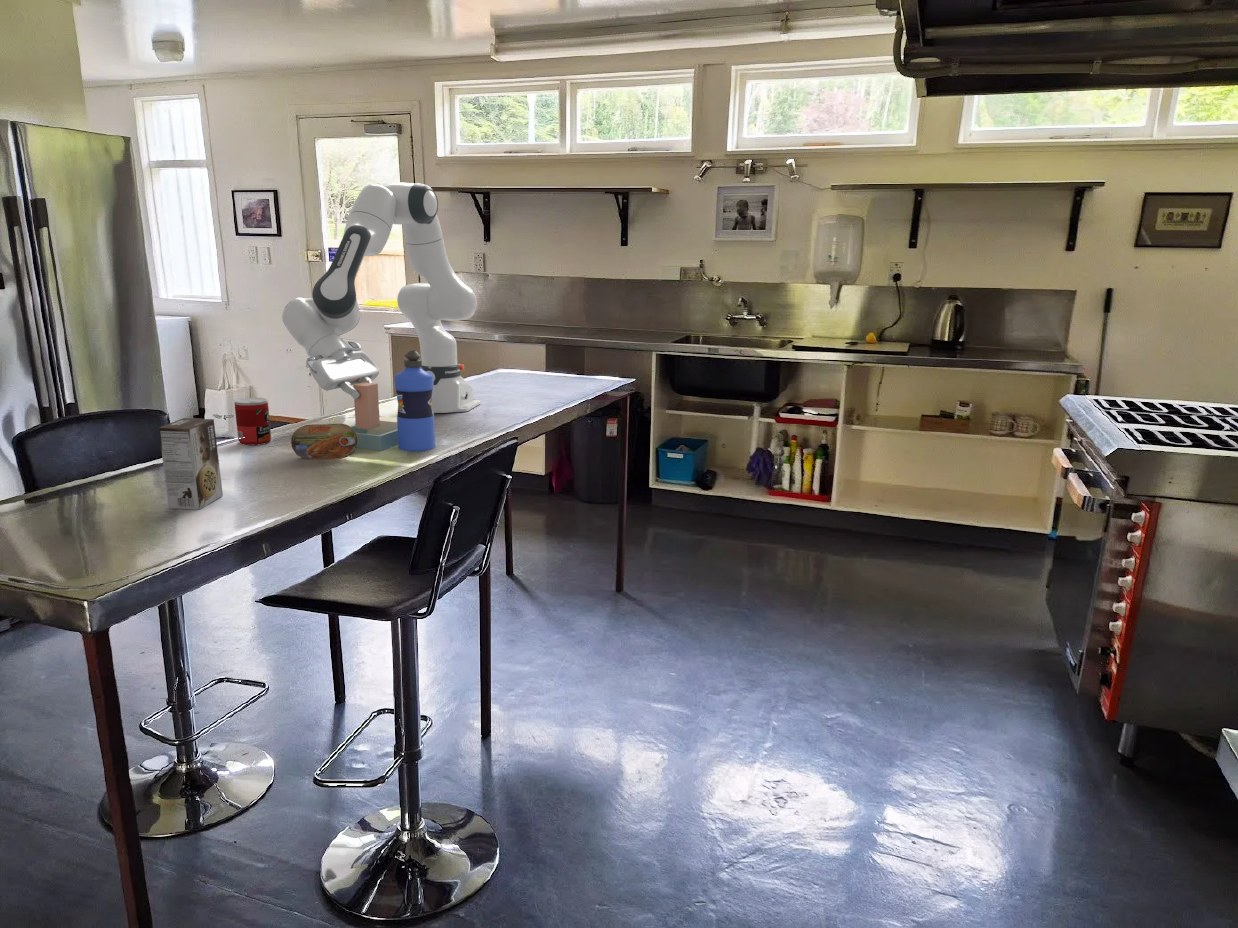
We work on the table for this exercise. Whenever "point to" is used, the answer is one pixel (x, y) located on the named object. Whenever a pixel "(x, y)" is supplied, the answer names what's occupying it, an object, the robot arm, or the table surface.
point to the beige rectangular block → (384, 426)
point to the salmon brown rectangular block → (367, 406)
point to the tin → (324, 441)
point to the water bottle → (414, 406)
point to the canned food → (252, 421)
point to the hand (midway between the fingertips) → (366, 395)
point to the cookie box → (190, 463)
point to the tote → (375, 439)
